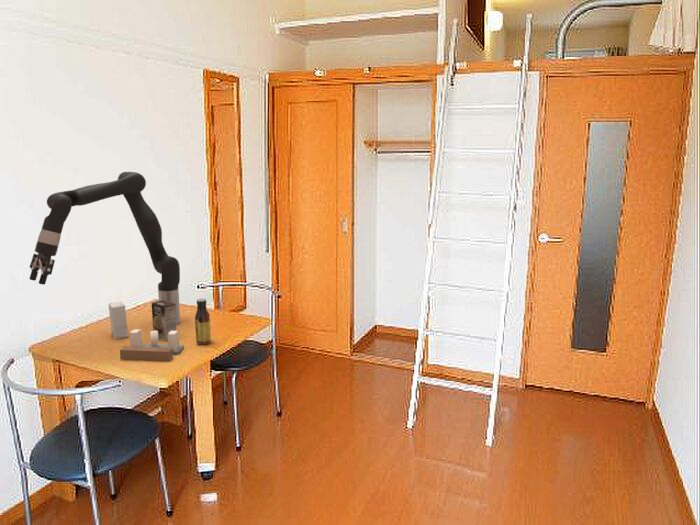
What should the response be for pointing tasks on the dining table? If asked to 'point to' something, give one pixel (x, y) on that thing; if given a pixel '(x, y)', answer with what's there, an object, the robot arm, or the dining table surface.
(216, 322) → the dining table surface
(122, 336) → the skincare box
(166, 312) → the coffee box
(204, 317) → the sauce bottle
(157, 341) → the stand
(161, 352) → the frame bar
